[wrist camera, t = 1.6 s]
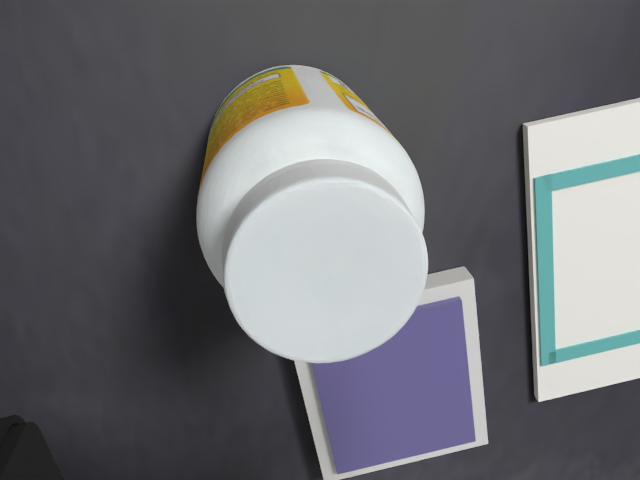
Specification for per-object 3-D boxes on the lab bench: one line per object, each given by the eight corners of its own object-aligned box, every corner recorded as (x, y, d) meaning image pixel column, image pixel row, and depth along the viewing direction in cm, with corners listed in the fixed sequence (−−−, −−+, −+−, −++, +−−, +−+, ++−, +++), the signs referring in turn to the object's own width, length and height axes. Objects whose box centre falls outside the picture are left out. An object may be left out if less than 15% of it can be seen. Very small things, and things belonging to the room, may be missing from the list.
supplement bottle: (384, 76, 20) (502, 163, 11) (351, 228, 22) (430, 400, 13) (216, 48, 19) (202, 120, 10) (199, 210, 21) (175, 385, 12)
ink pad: (282, 307, 23) (285, 326, 22) (464, 266, 23) (476, 282, 22) (321, 465, 26) (325, 488, 25) (479, 427, 27) (491, 448, 25)
